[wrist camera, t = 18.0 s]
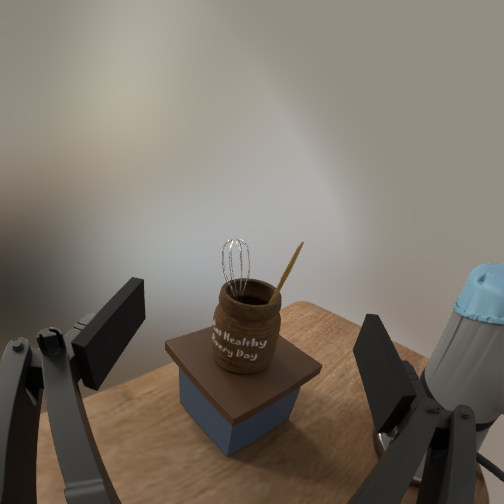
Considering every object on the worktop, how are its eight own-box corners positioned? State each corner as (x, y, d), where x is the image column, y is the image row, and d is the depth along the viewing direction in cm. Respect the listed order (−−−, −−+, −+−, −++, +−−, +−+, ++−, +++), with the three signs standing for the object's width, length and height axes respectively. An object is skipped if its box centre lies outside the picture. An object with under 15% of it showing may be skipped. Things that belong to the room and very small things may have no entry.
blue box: (300, 419, 30) (323, 365, 26) (225, 467, 22) (233, 419, 19) (240, 368, 37) (249, 313, 34) (168, 399, 30) (164, 340, 27)
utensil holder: (226, 329, 30) (239, 218, 26) (283, 349, 28) (309, 234, 24) (198, 361, 25) (206, 233, 21) (263, 386, 23) (292, 256, 19)
